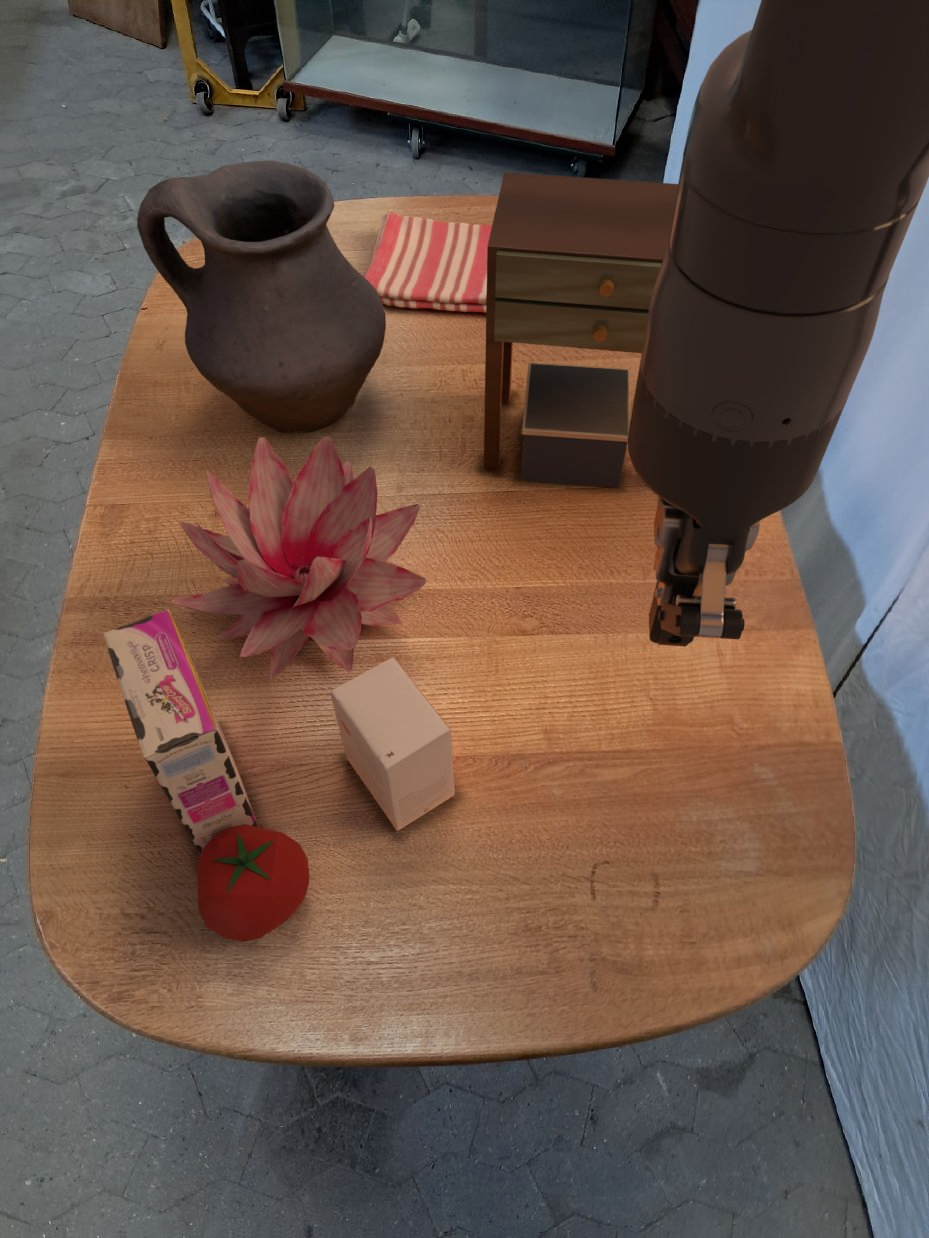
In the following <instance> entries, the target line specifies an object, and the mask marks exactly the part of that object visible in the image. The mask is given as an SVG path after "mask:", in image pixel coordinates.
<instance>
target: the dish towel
mask: <svg viewBox="0 0 929 1238" xmlns="http://www.w3.org/2000/svg"><path fill="white" fill-rule="evenodd" d="M491 229H492V224H481V223H480V224H475V223H473V224H472V223H467V222H455V221H450V222H443V221H438V220H435V219H433V218H424V217H419V216H418V217H415V216H409V215H403V216H401V215H398V214H397V213H396V212H394V211H391V210H388V211H387V213H386V214H384V215H383V216H382V218H381V222H380V226H379V230H378V234H377V237H376V241H375V245H374V250H373V253H372V257H371V260H370V264H369V267H368V269H367V271H366V272H365V274H364V275H363V277H365V278H366V279H367V280H368V281H369V282H370V283H371V284H372V285H373V287H374V288H375V290H376V291H377V292H378V295H379V297H380V299H381V301H382V304H384V305H386V306H389V307H390V306H392V307H393V306H394V307H398V308H404V309H405V308H410V309H434V310H440V311H441V310H443V311H451V312H464V313H468V312H469V313H470V312H471V313H484V314H486V299H487V246H488V242H489V237H490V233H491Z"/></svg>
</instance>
